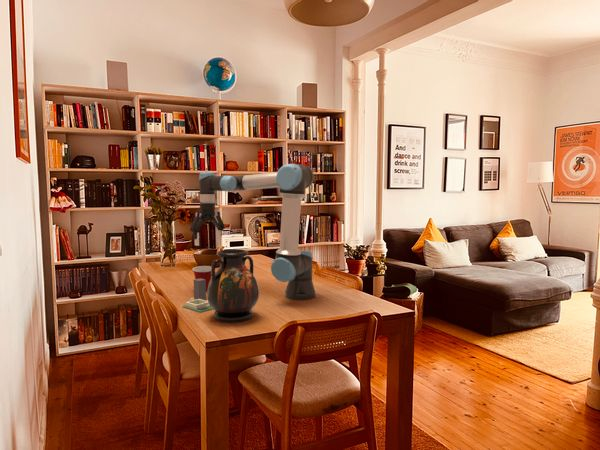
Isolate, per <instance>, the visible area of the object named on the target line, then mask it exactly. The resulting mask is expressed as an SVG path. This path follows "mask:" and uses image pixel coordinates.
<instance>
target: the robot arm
mask: <svg viewBox="0 0 600 450" xmlns="http://www.w3.org/2000/svg"><path fill="white" fill-rule="evenodd" d="M314 177H315V176H314V172H313V170H312V169H311V168H310V167H309V166H308V165H305V164H300V163H299V164H297V163H286V164H284V165H282V166H281V167H279V169H278V170H277V171H275V172H265V173H255V174H247V175H246V174H245V175H215V172H214V171H201V172H199V176H198V181H199V182H198V184H199V202H200V203H199V210H200V212H195V213H194V218H193V219H192V220H193V221H192V222H191V225H190V228H189V232H192V233H193V235H192V236H193V240H194V246H200V232H198V231H199V230H200V229H201V227H202V226H203V225H204V223H205V222H211V223H212V224H213V225H214V227H215V228H216V229H217V230H216V232H215V233H216V244H217V243H218V244H221V243H222V236H223V231H224V229H226V226H225V224H224V221H223V219H222V217H221V213H220V211H217V210H216V203H215V202H216V195H215V194H216V193H215V192H232V191H234V192H236V191H238V192H241V191H242V192H243V191H249V190H250V191H251V190H260V189H274V188H275V189H276V188H279V195H281V197H282V200H281V201H282V203H281V216H280V217H281V218H280V221H281V222H280V237H279V248H278V249H277V250H276V251H275V259H274V260H273V261H272V263H271V265H270V272H271V274H272V276H273V277H274V278H275V279H276V280H277V281H278V282H281V283H287V285H286V289H285V293H284V296H285V297H286V298H287V299H292V300H311V299H313V298H315V297H316V296H317V294H316V293H317V291H316V289H315V286H314V282H313V260H314V259H313V252H312V251H311V250H302V249H299V236H300V225H301V223H300V221H301V211H302V210H301V207H302V198H303V197H304V196H305V194H306V189H308V188H309V187H311V186H312V185H313V182H314ZM215 210H216V211H215Z"/></svg>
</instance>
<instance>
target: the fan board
mask: <svg viewBox="0 0 600 450" xmlns="http://www.w3.org/2000/svg"><path fill="white" fill-rule="evenodd" d="M184 304H185V305H182V308H184V309H187V310H191V311H194V312H197V313H200V314H201V313H204V312H208V311H212V310H214V309H213V308H212V307H211V306H210V304H209V302H208V300H202V299H196V300H194V297H191V298H189V301H185V302H184Z"/></svg>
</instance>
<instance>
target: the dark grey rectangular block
mask: <svg viewBox="0 0 600 450" xmlns="http://www.w3.org/2000/svg"><path fill="white" fill-rule="evenodd" d="M193 298H194V300H196V299H202V300H205V301H207V291H206V280H205V279H201V278H200V279H195V278H194V279H193Z"/></svg>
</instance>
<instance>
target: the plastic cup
mask: <svg viewBox="0 0 600 450" xmlns="http://www.w3.org/2000/svg"><path fill="white" fill-rule="evenodd" d="M192 271H193V275H194V280H195V279H200V278H201V279H205V280H206V292H207V289H208V285H209V282H210V279H211V266H210V265H199V266H195V267H192Z"/></svg>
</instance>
